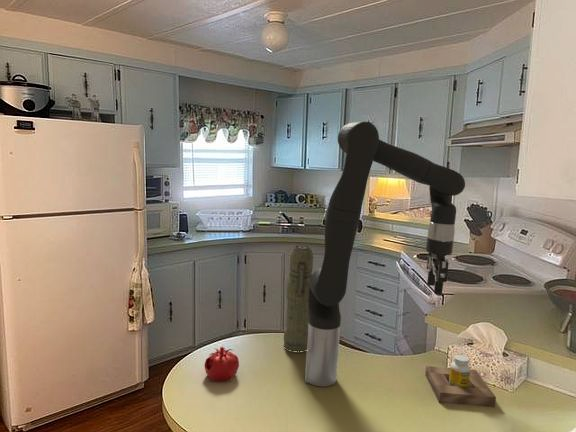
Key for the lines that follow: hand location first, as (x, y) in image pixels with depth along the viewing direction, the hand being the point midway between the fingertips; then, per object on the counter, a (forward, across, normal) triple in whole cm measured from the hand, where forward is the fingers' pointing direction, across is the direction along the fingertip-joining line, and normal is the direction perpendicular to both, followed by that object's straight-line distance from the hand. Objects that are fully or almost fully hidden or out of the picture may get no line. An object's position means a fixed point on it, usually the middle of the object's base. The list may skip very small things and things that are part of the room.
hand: (434, 289), depth 133 cm
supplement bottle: (+26, +10, +7) cm, 29 cm away
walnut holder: (+27, +10, +7) cm, 29 cm away
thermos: (+27, -9, -41) cm, 50 cm away
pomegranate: (+28, +14, -62) cm, 69 cm away
